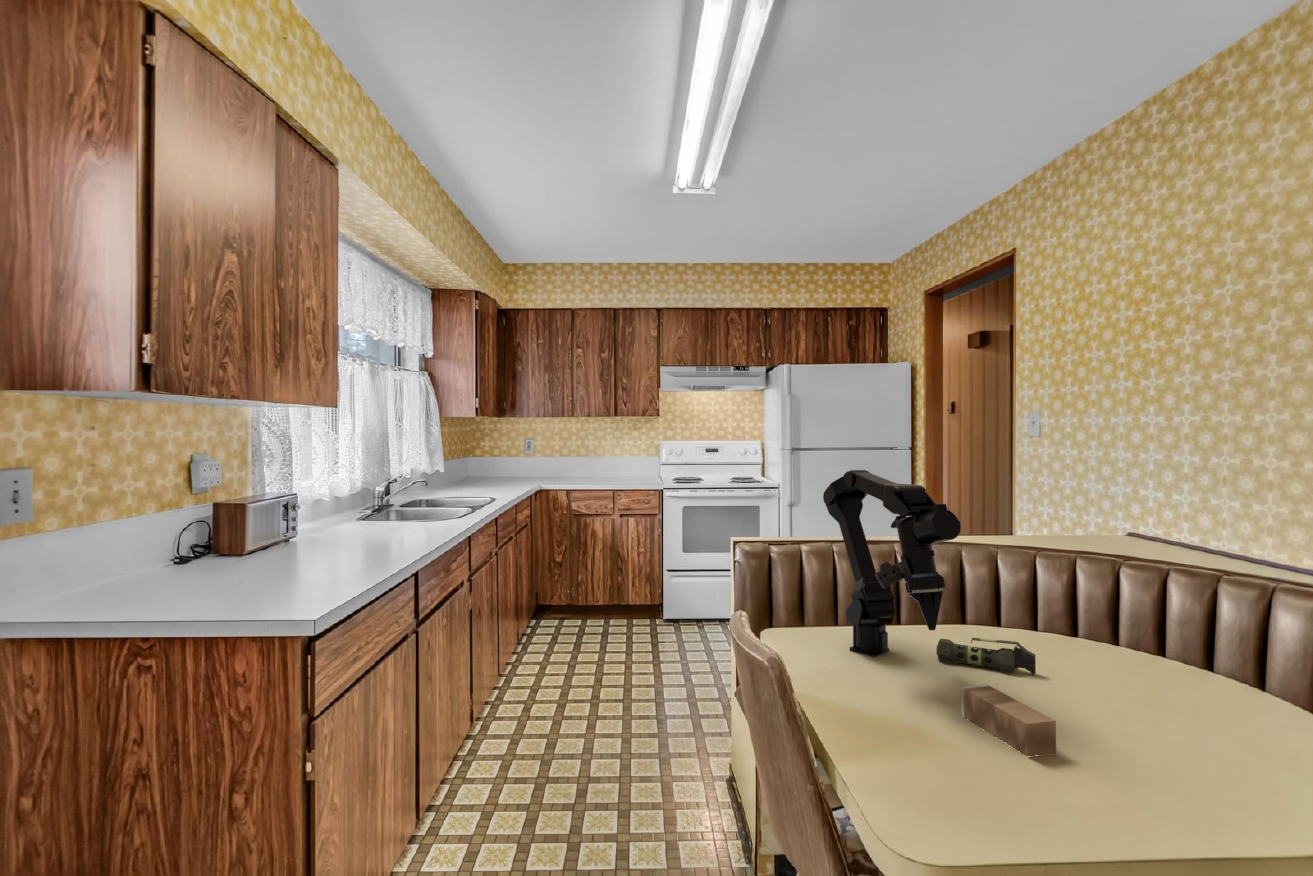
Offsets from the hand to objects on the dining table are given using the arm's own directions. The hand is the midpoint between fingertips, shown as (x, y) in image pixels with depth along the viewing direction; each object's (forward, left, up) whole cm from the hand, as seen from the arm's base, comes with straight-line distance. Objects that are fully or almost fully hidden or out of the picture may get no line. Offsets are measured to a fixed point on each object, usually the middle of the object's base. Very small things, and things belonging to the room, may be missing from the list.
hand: (932, 630), depth 116 cm
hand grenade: (+3, +19, -11) cm, 22 cm away
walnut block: (+10, -7, -8) cm, 14 cm away
